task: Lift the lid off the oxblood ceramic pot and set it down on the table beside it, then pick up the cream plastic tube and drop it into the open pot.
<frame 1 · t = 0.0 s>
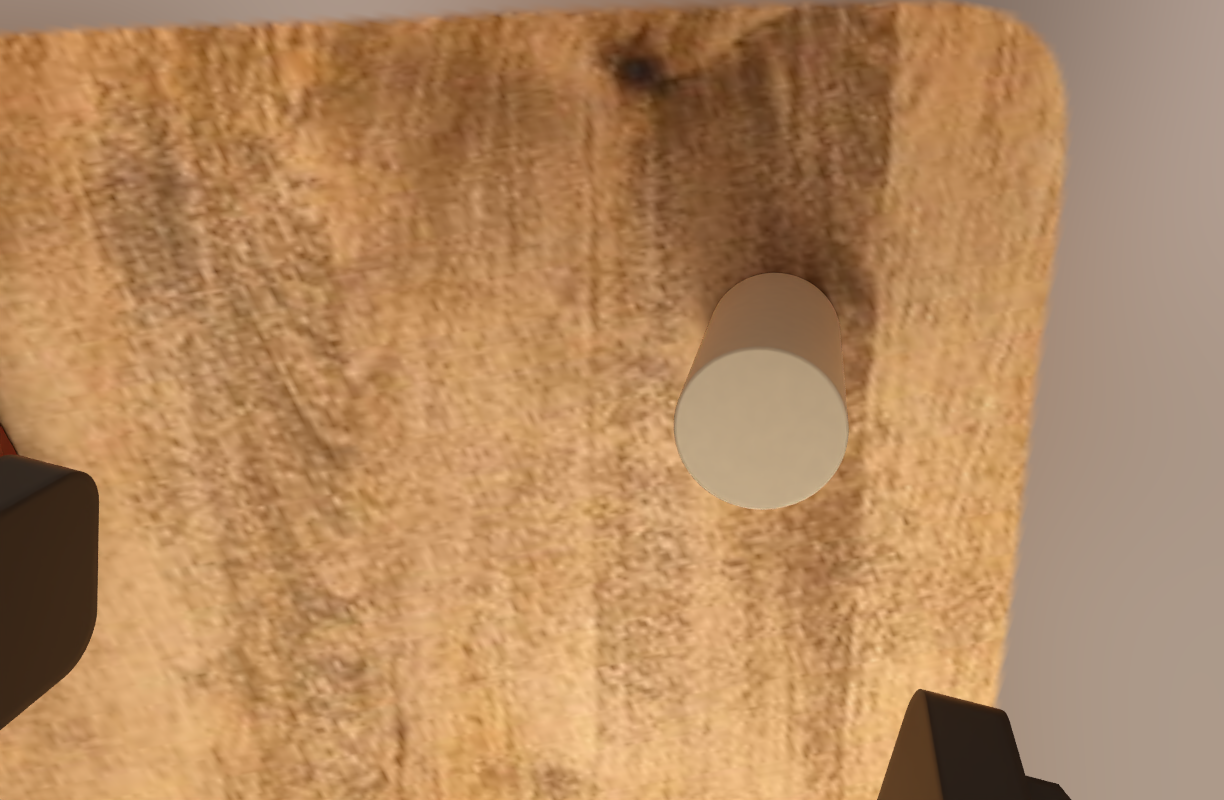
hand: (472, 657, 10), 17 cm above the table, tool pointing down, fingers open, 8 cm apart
tube: (773, 336, 26), on the table
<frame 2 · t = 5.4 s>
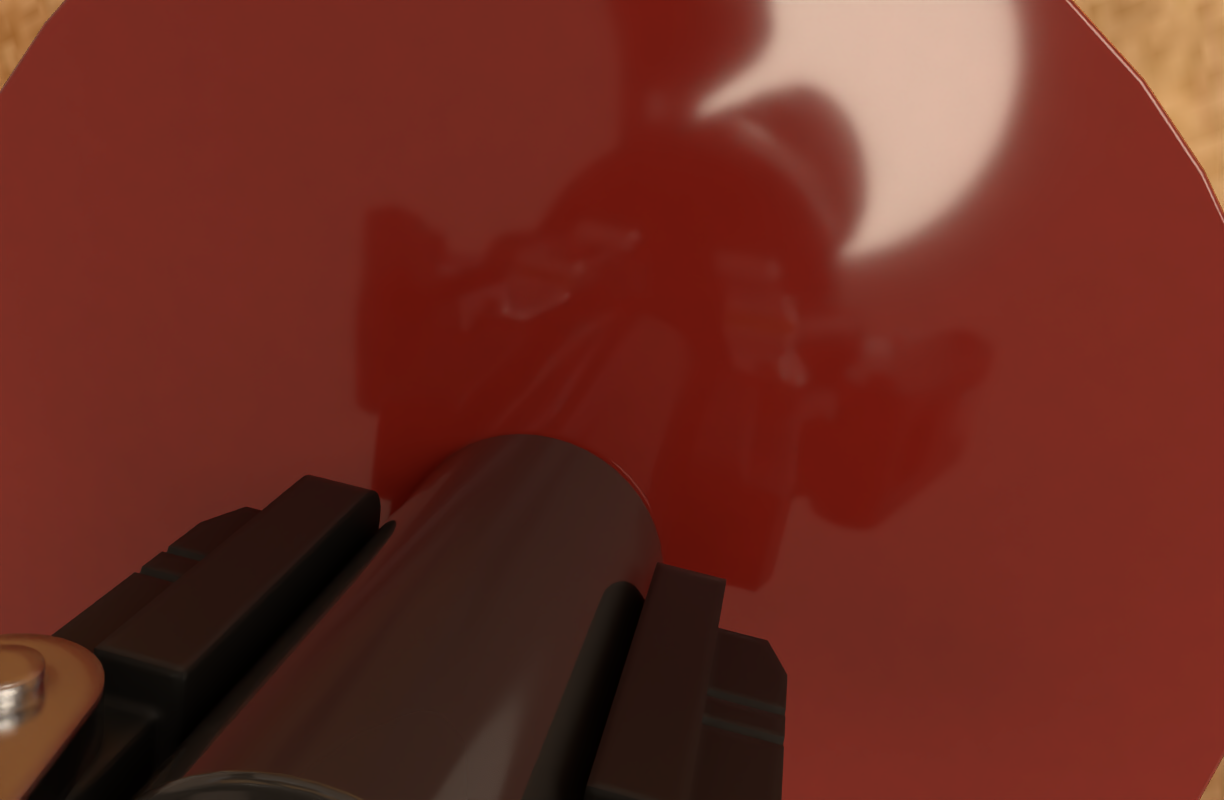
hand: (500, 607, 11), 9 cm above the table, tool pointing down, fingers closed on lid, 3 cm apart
lid: (546, 533, 13), point 8 cm above the table, touching gripper, pot
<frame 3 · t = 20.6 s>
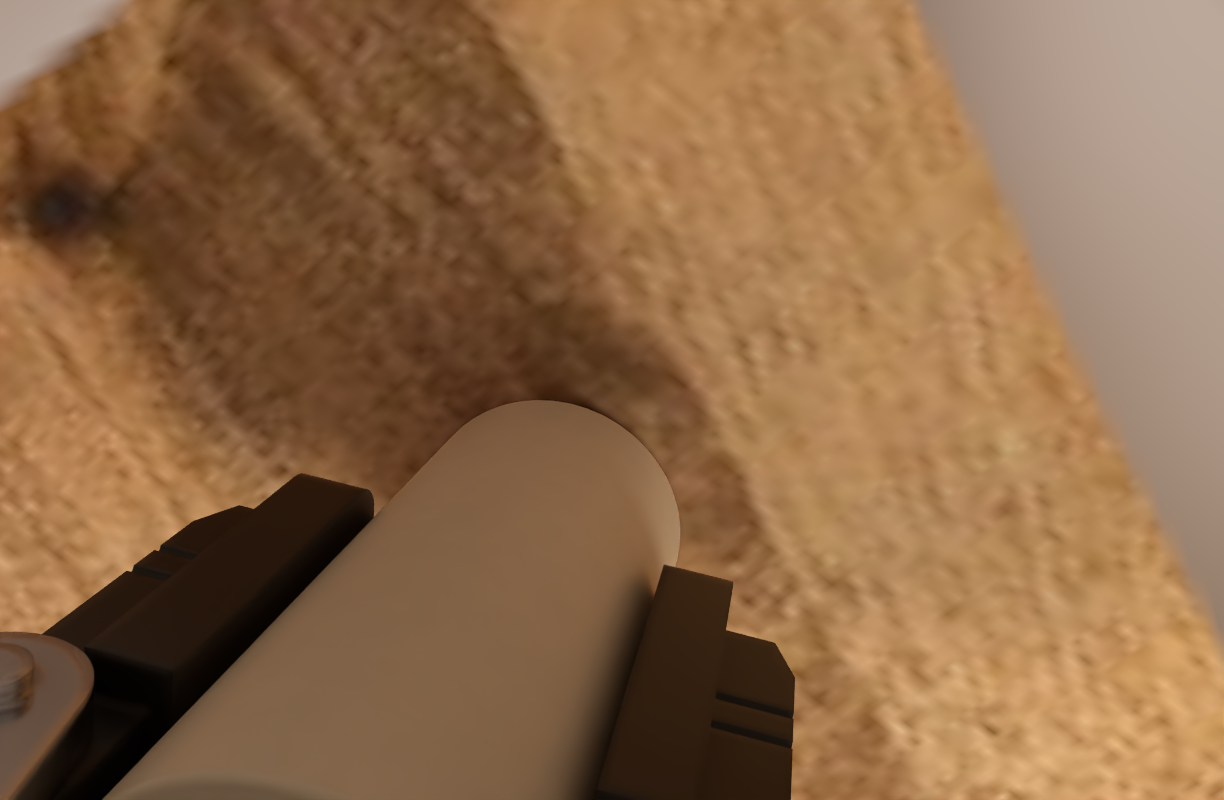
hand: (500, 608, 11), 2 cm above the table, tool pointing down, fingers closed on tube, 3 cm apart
tube: (551, 522, 13), on the table, touching gripper
when the fingers open (7 cm above the table, at t = 29.1 s): tube drops 4 cm, resting on pot.
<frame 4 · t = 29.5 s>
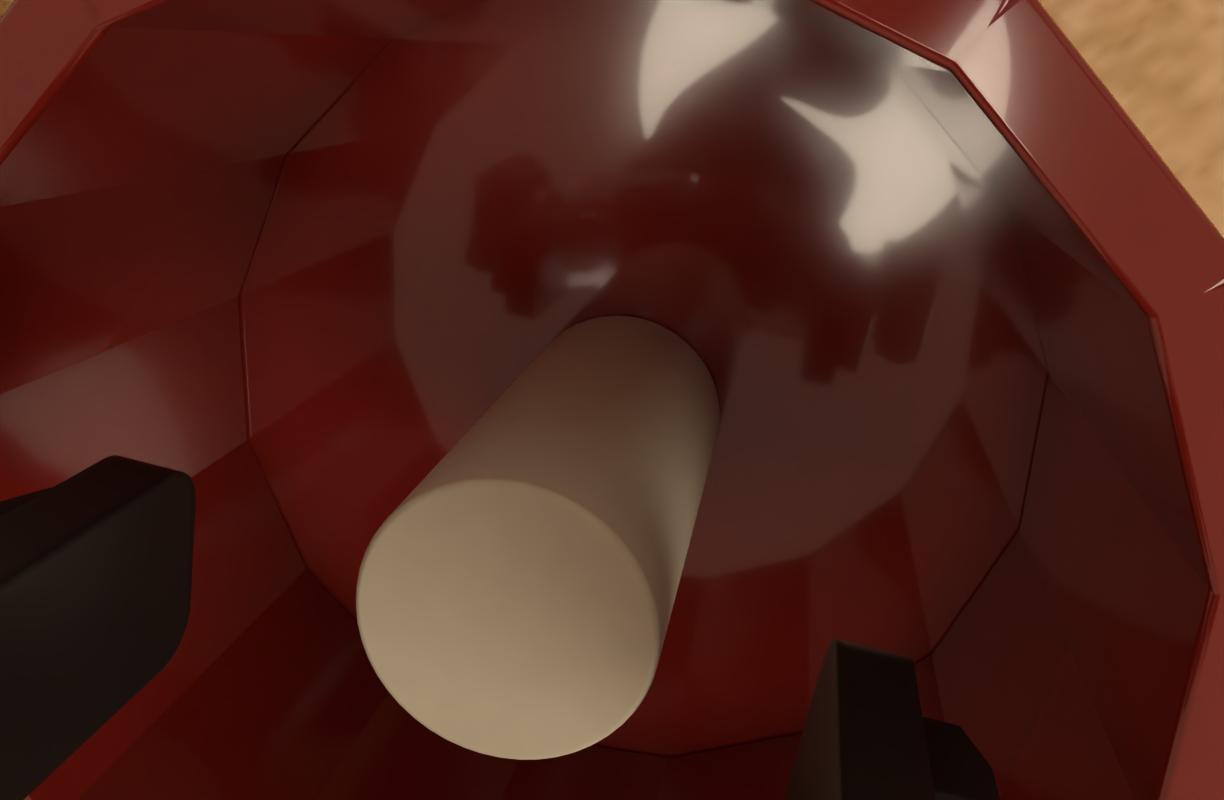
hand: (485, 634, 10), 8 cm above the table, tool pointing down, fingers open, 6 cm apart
tube: (621, 410, 17), resting on pot
pot: (620, 398, 18), on the table
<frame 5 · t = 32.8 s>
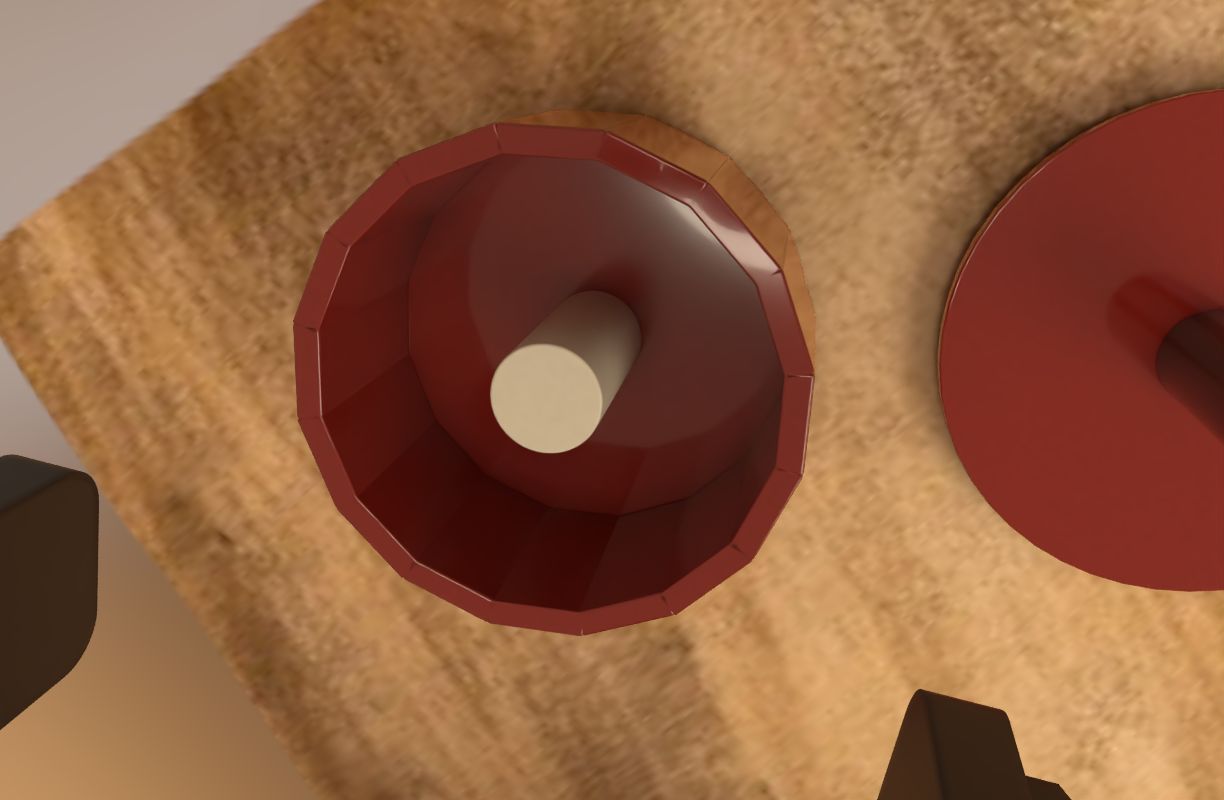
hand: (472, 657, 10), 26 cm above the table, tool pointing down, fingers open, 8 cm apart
tube: (594, 336, 36), resting on pot
pot: (594, 331, 36), on the table
lid: (1203, 353, 32), point 1 cm above the table
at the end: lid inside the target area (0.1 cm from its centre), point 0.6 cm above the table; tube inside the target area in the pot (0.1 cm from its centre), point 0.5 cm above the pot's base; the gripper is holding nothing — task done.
